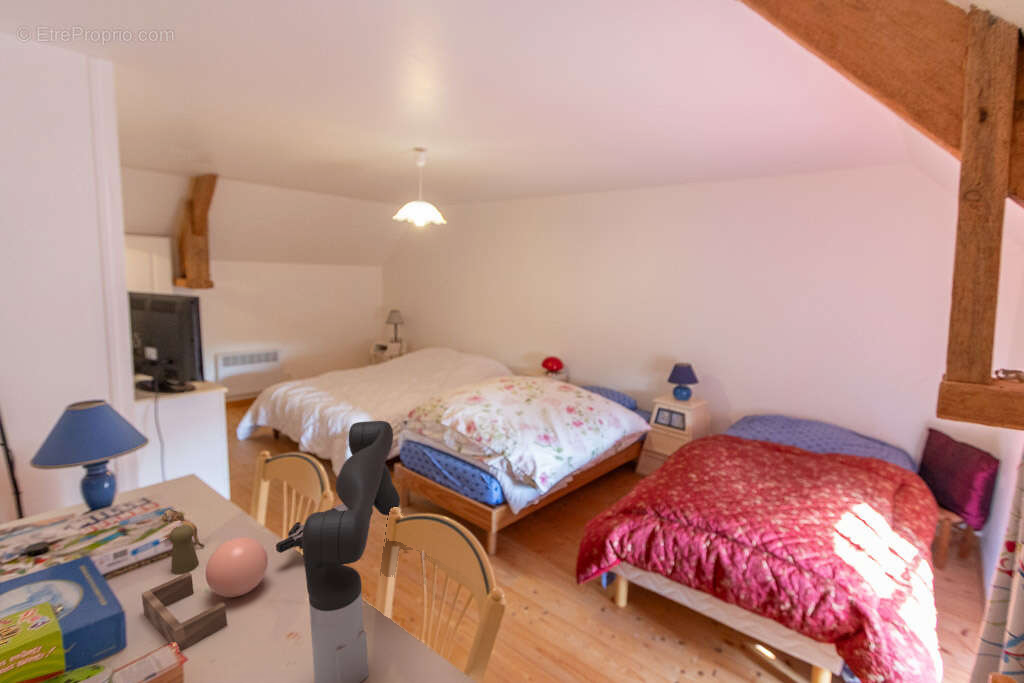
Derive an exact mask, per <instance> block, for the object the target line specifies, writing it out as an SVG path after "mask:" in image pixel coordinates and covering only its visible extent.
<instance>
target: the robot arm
mask: <svg viewBox="0 0 1024 683" xmlns="http://www.w3.org/2000/svg"><path fill="white" fill-rule="evenodd" d="M392 427H393V426H392V425H391V424H390V423H389V422H388V421H385V420H372V421H371V420H370V421H368V420H367V421H359V422H355V423H353V424H352V425H351V426H350V428H349V431H348V447H349V448H348V449H349V451H350V454H351V455H350V457H348V458H347V460H345V461H344V463H343V464H342V466H341V468H340V470H339V473H338V476H337V478H336V480H335V490H336V494H337V496H338V498H339V499H340V501H341V503H342V504H341V503H340V504H338V505H336V506H334V507H331V508H329V509H328V510H325V511H316V512H313V513H311V514H309V516H307V518H306V519H305V522H304V524H301V522H300V521H297V522H295V524H293V526H292V527H291V529H290V530H288V537H287V538H285V539H283V540H281V541H279V542H277V543H276V545H275V551H276V552H277V553H279V554H281V553H283V552H286V551H288V550H290V549H292V548H295V549H296V548H299V549H300V550H302V557H303V563H304V571H305V579H306V589H307V593H308V600H309V601H308V602H309V615H310V616H309V618H310V629H311V630H310V632H311V647H312V662H313V663H312V664H313V674H314V675H313V676H314V683H362V681H364V680H365V679H367V678H368V677H369V663H368V662H369V661H368V641H367V632H366V631H365V630H364V615H363V614H364V612H363V593H362V578H361V575H360V573H359V571H357V570H356V569H355V568H353V567H351V566H348V564H354V563H357V562H358V561H359V560H361V558H362V556H363V555H364V553H365V549H366V547H367V542H368V538H369V537H368V536H369V530H370V524H371V519H372V518H371V517H372V515H373V511H374V508H375V510H377V511H378V512H379V514H381V515H383V516H390V515H389V512H390V509H391V508H393V507H398V508H399V507H400V504H401V503H400V502H401V500H400V499H401V498H400V494H399V493H398V490H397V488H396V486H395V484H394V483H393V479H392V474H391V471H390V469H389V467H388V465H387V464H386V462H387V459H388V457H389V455H390V453H391V450H392V447H393V443H394V431H393V428H392ZM373 507H374V508H373ZM330 509H331V510H330Z"/></svg>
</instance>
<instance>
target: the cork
mask: <svg viewBox="0 0 1024 683" xmlns="http://www.w3.org/2000/svg"><path fill="white" fill-rule="evenodd" d="M192 538H193V528H192V527H191V526H189V525H182V526H179V527H176V528H174V529H173V530H172V531H170V532H169V536H168V539H169V541H170V543H171V544H172V547H171V548H172V549H171V552H172V553H171V554H172V555H171V570H170V571H171V573H172V574H174V575H184V574H186V573H188V572H189V573H191V572H192V571H193V570H195V569H197V567H198V566H199V564H200V561H199V558H198V555H197V552H196V548H195V543H194V541H193V539H192Z"/></svg>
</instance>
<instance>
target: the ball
mask: <svg viewBox="0 0 1024 683" xmlns="http://www.w3.org/2000/svg"><path fill="white" fill-rule="evenodd" d="M268 566H269V558H268V554H267V551H266V549H265V547H264V546H263V545H262V543H261V542H259V541H257V540H256V539H253V538H251V537H236V538H232V539H228V540H227V541H225V542H224V543H222V544H221V545H220V546H218V547H217V548H216V549H215V550H214V551H213V552H212V554H211V555H210V557H209V559H208V561H207V563H206V566H205V567H206V568H205V580H206V582H207V585H208V587H209V589H210V590H211V591H212V592H213V593H215V594H216V595H219V596H221V597H225V598H236V597H240V596H243V595H246V594H248V593H250V592H251V591H252V590H254V589H255V588H256V587H257V586H259V584H260V583H261V582H262V580H263V579H264V577H265V575H266V573H267V569H268Z"/></svg>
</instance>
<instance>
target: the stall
mask: <svg viewBox="0 0 1024 683" xmlns="http://www.w3.org/2000/svg"><path fill="white" fill-rule="evenodd" d="M194 593H195V592H194V584H193V576H192V573H191V572H187V573H184V574H181V575H180V576H177V577H175V578H173V579H171V580H168V581H167V582H164V583H161V584H159V585H157V586H155V587H153V588H150V589H149V590H146V591H144V592H142V593H141V598H142V599H141V601H142V607H143V608H142V609H143V614H144V615H145V616H146V618H147V619H148V620H149V621H150V623H151V624H153V626H154V627H155V628H156V629H157V631H158V632H159V633H160V634H161V635H162V636H163V638H164V639H165V640H166V641H167V642H168V643H169V644H170V643H171V642H176V643H177V645H178V647H179V650H180V651H181V652H182V651H184V650H186V649H188V648H189V646H190V647H191V646H194V644H196V643H198V642H200V641H202V640H204V639H206V638H207V636H208V637H209V636H211V635H213V634H215V633H216V632H218V631H219V630H222V629H224V628H225V626H226V627H227V626H228V620H227V609H226V604H225V603H224V602H223V601H222V602H219V603H217V604H216V605H214V606H212V607H210V608H208V609H206V610H204V611H203V612H200V613H198V614H196V615H195V616H192V617H191V618H189V619H186V620H184V621H183V622H180V621H179V620H178V619H177V618H176V617H175V616H174V615H173V613H171V611H170V610H169V609H167V607H169V606H171V605H173V604H174V603H177V602H179V601H181V600H183V599H185V598H187V597H189V596H191V595H194Z"/></svg>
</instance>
